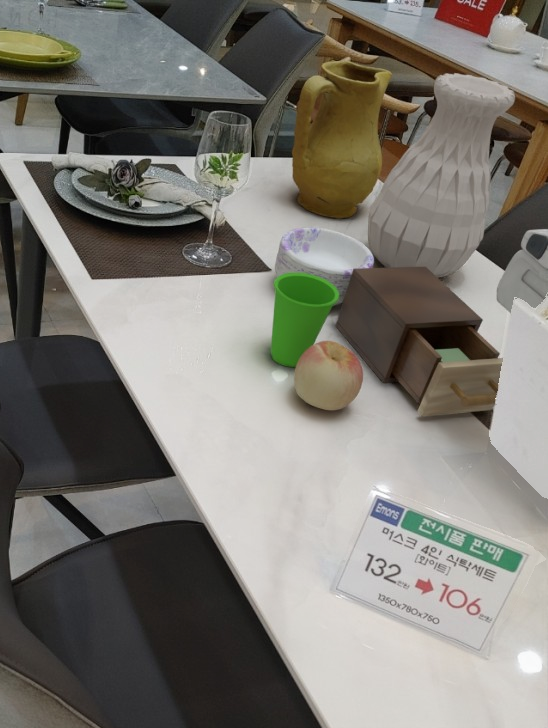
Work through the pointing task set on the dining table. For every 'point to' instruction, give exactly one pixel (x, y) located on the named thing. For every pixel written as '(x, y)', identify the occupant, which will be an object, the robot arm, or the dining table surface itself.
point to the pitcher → (338, 138)
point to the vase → (441, 181)
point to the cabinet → (396, 312)
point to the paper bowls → (322, 256)
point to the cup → (299, 314)
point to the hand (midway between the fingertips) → (534, 376)
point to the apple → (328, 376)
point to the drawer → (448, 370)
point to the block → (452, 355)
